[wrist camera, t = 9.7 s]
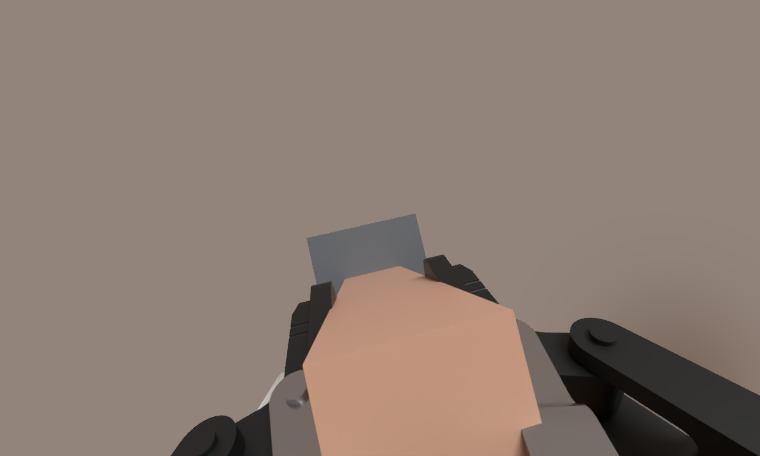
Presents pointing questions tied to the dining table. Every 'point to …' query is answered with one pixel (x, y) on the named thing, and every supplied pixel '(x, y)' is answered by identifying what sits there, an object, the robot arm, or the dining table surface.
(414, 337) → the salmon and grey blocks
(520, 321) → the robot arm
